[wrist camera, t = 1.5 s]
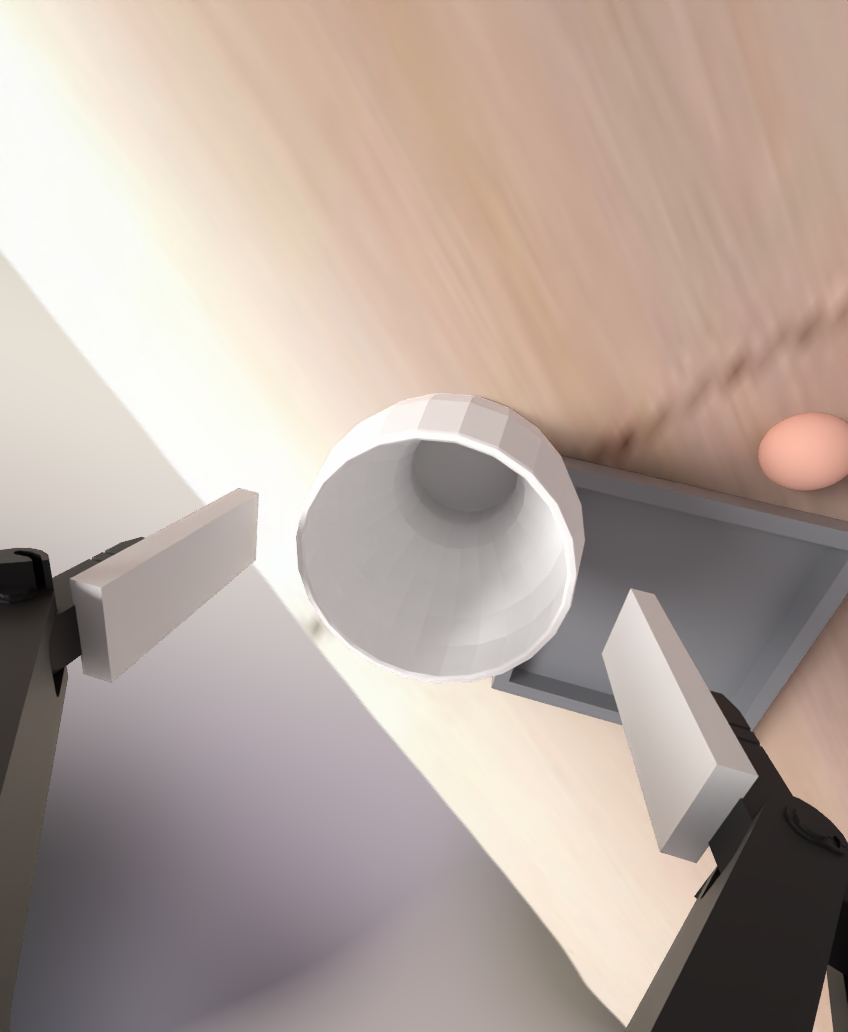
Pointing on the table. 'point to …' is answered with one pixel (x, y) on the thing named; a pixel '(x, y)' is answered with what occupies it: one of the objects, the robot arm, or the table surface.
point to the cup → (442, 539)
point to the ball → (806, 451)
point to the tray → (690, 589)
